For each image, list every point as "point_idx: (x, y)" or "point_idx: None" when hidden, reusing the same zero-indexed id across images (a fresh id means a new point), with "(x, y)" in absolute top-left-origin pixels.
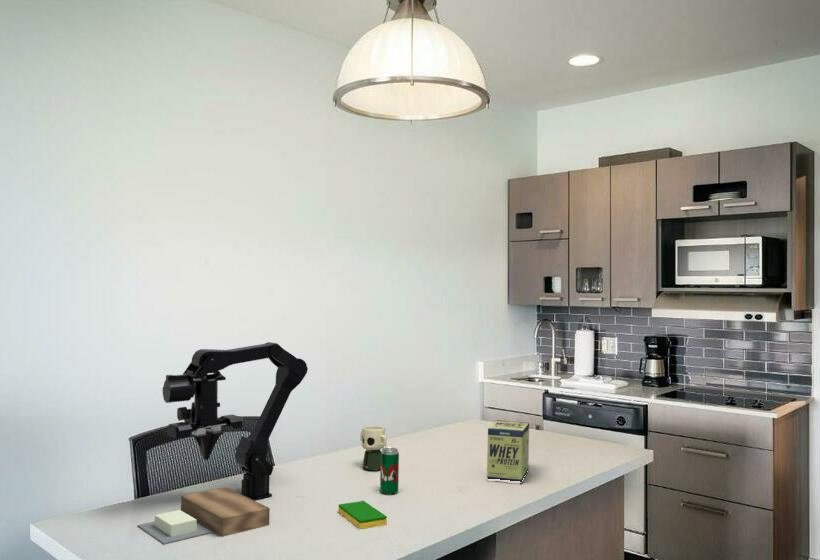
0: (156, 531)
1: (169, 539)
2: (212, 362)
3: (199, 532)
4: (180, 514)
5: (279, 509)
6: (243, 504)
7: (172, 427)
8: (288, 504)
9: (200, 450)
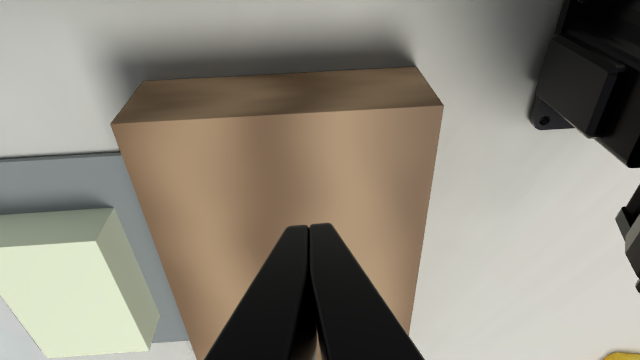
0: None
1: None
2: None
3: (165, 330)
4: (92, 288)
5: (518, 265)
6: None
7: None
8: (590, 238)
9: (229, 322)
